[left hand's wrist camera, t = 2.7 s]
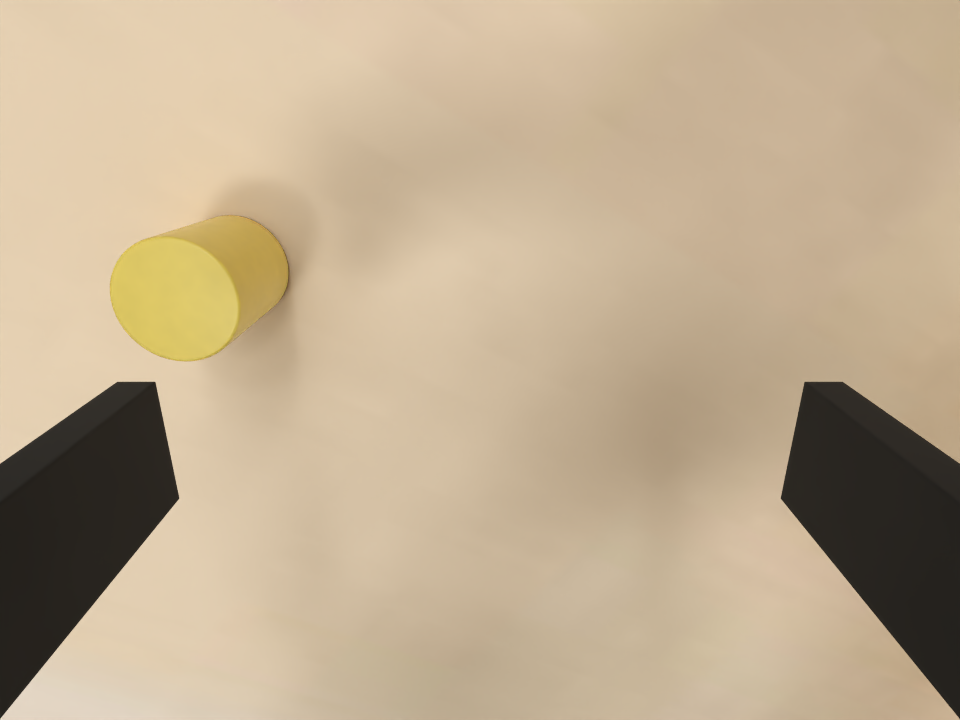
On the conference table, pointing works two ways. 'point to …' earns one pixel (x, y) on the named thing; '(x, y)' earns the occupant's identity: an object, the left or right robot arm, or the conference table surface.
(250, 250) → the canister
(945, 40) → the conference table surface
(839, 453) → the left robot arm
